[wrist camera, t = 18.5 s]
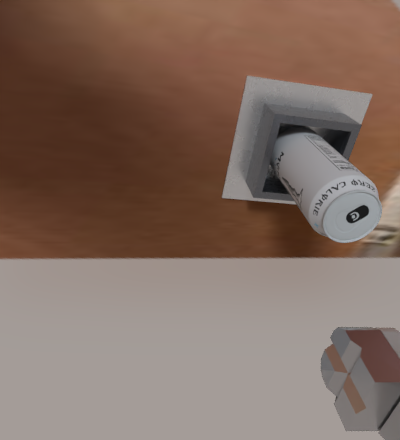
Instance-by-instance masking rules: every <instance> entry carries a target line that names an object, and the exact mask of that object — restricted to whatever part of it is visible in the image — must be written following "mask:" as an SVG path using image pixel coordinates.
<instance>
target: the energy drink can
mask: <svg viewBox="0 0 400 440" xmlns="http://www.w3.org/2000/svg"><path fill="white" fill-rule="evenodd" d="M270 165H271V167H272V169H273V170H274V172H275V173H276V175H277V176H278V178H279V179H280V181H281V182H282V184H283V185H284V187H285V188H286V189H287V191H288V192H289V194H290V195H291V197H292V198H293V200H294V201H295V203H296V204H297V206H298V207H299V209H300V210H301V212H302V213H303V215H304V216H305V218H306V219H307V221H308V222H309V224H310V225H311V226H312V228H313V229H314V230H315V231H316V232H317V233H319V234H321V235H323V236H326V237H329V238H330V239H331V240H334V241H336V242H340V243H348V242H353V241H357V240H359V239H361V238H363V237H365V236H366V235H368V234H369V233H370V232H371V231H372V230H373V229H374V228H375V227H376V225H377V224H378V222H379V220H380V218H381V214H382V206H381V202H380V201H379V197H378V191H377V188H376V186H375V185H374V183H373V182H372V181H371V180H370V179H368V178H367V177H366V176H365V175H364V174H363V173H361V172H360V171H359V170H358V169H357V168H356V167H355V166H353V165H352V164H351V163H350V162H349V161H348V160H347V159H345V158H344V157H343V156H342V155H341V154H340V153H339V152H337V151H336V150H335V149H334V148H333V147H332V146H331V145H329V144H328V143H327V142H326V141H325V140H324V139H323V138H321V137H320V136H319V135H318V134H317V133H316V132H315V131H313V130H311V129H310V128H306V127H293V128H290V129H288V130H286V131H284V132H282V133H281V134H280V135H279V136H278V137H277V138H276V142H275V146H274V149H273V153H272V157H271V161H270Z"/></svg>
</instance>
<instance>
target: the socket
mask: <svg viewBox="0 0 400 440" xmlns="http://www.w3.org/2000/svg"><path fill="white" fill-rule="evenodd" d="M371 97H372V94H370V93H363V92H357V91H350V90H343V89H336V88H330V87H323V86H316V85H309V84H302V83H296V82H289V81H282V80H275V79H268V78H262V77H255V76H248V75H247V77H246V82H245V86H244V91H243V96H242V101H241V106H240V111H239V115H238V120H237V125H236V130H235V135H234V140H233V144H232V149H231V154H230V159H229V164H228V168H227V173H226V178H225V183H224V188H223V193H222V198H228V199H240V200H251V201H263V202H274V203H286V204H296V203H295V201H294V200H293V198H292V197H291V195H290V194H289V192H288V191H287V189H286V188H285V187H284V185H283V184H282V182H281V181H280V179H279V178H278V176H277V175H276V173H275V172H274V170H273V169H272V167H271V165H270V161H271V157H272V153H273V149H274V146H275V142H276V138H277V137H278V136H279V135H280V134H281V133H282V132H284V131H286V130H288V129H290V128H293V127H306V128H310V129H311V130H313V131H315V132H316V133H317V134H318V135H319V136H320V137H321V138H323V139H324V140H325V141H326V142H327V143H328V144H329V145H331V146H332V147H333V148H334V149H335V150H336V151H337V152H339V153H340V154H341V155H342V156H343V157H344V158H345V159H347V160H349V157H350V154H351V152H352V149H353V146H354V144H355V141H356V139H357V136H358V133H359V131H360V128H361V123H362V121H363V118H364V116H365V113H366V110H367V108H368V105H369V102H370V100H371Z"/></svg>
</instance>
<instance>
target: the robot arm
mask: <svg viewBox="0 0 400 440" xmlns="http://www.w3.org/2000/svg"><path fill="white" fill-rule="evenodd" d="M331 340H332V342H333V344H332V345H331V346H329V347H328V348H327V349H325V351H324V353H323V355H322V358H321V372H322V377H323V380H324V382H325V385H326V387H327V388H328V389H329V390H330V391H331V392H332V393H333V394H335V395H336V399H335V403H334V405H335V407H336V410H337V412H338V414H339V416H340V419H341V421H342V423H343V425H344V427H345V430H346V431H379V434H380V435H381V436H382V437H383V438H384V439H385V440H400V332H399V331H398V330H396V329H395V328H371V327H370V328H368V327H360V328H359V327H338V328H337V329H335V330H334V331H333V333H332V335H331Z"/></svg>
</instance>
